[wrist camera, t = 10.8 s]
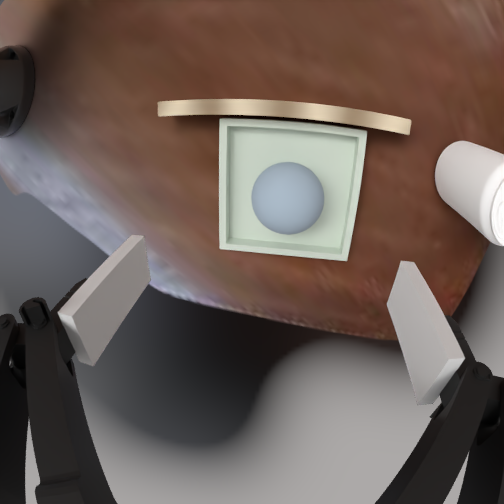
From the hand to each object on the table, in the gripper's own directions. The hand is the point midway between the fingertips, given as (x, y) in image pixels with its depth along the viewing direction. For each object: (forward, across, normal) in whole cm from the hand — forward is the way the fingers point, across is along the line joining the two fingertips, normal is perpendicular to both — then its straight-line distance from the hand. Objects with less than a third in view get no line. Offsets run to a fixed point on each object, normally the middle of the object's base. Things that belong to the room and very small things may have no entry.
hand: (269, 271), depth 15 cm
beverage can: (+19, +21, +4) cm, 29 cm away
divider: (+19, 0, +7) cm, 20 cm away
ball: (+19, +1, -1) cm, 19 cm away
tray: (+19, +1, -1) cm, 19 cm away
